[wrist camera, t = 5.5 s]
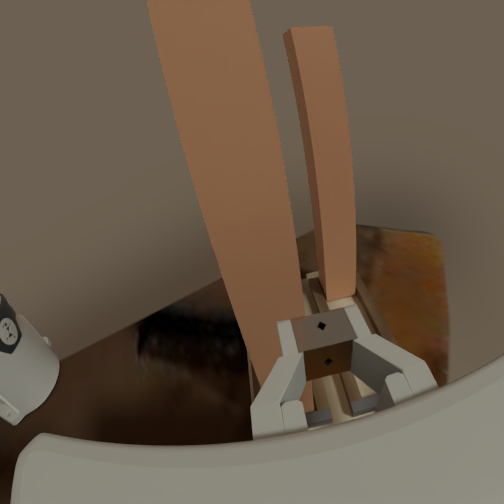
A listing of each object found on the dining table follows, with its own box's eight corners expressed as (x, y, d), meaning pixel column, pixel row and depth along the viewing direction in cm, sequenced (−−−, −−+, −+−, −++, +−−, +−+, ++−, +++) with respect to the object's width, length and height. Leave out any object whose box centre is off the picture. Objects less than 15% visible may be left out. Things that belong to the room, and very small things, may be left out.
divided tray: (257, 445, 24) (252, 438, 23) (243, 296, 43) (240, 285, 42) (420, 401, 23) (425, 391, 22) (353, 272, 43) (353, 260, 42)
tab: (273, 420, 25) (146, 1, 8) (268, 387, 28) (165, 20, 11) (314, 412, 25) (243, -22, 8) (306, 380, 28) (239, 2, 11)
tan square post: (326, 301, 37) (290, 28, 20) (319, 282, 41) (282, 35, 24) (355, 294, 37) (331, 25, 20) (345, 276, 40) (319, 32, 23)
